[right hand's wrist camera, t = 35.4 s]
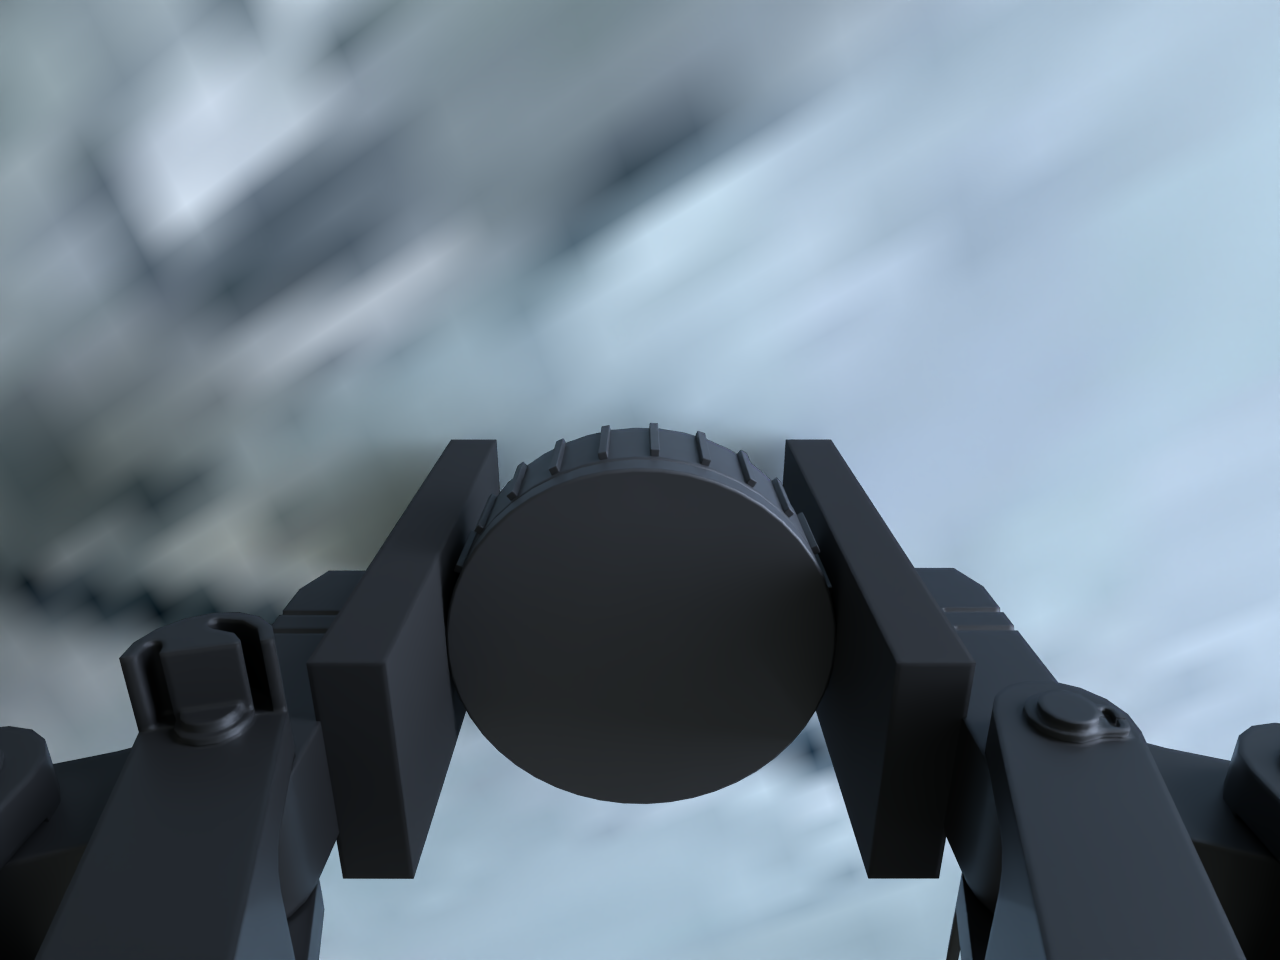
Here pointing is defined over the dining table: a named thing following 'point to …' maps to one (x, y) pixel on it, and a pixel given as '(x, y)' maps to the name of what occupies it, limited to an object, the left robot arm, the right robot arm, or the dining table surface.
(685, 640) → the lid
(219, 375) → the dining table surface
